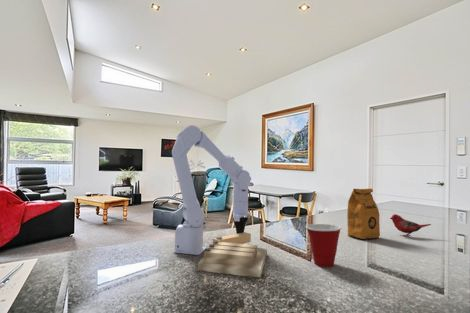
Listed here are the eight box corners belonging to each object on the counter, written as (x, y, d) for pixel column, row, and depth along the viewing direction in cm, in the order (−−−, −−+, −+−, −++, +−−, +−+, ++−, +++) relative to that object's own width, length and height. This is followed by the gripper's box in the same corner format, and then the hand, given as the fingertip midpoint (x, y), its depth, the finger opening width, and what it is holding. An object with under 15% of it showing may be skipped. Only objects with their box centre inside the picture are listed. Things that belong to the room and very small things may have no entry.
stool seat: (197, 270, 71) (198, 251, 71) (216, 249, 89) (217, 234, 90) (260, 277, 67) (260, 257, 67) (266, 254, 85) (267, 238, 86)
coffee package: (384, 239, 108) (383, 189, 109) (361, 241, 105) (360, 189, 106) (365, 233, 118) (365, 187, 119) (344, 235, 114) (344, 187, 115)
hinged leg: (217, 249, 83) (218, 239, 83) (212, 247, 85) (213, 237, 85) (250, 242, 92) (250, 232, 92) (245, 240, 95) (245, 231, 95)
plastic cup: (315, 255, 86) (315, 220, 86) (347, 264, 78) (347, 225, 79) (298, 263, 78) (299, 224, 79) (332, 273, 70) (332, 231, 71)
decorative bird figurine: (388, 234, 117) (388, 213, 117) (429, 237, 114) (429, 215, 115) (391, 236, 114) (391, 214, 114) (433, 238, 111) (433, 216, 112)
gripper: (247, 204, 88) (247, 243, 87) (253, 199, 102) (253, 232, 101) (228, 203, 89) (227, 241, 88) (236, 198, 103) (236, 231, 103)
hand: (240, 236), depth 95 cm, fingers closed, pressing on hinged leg
